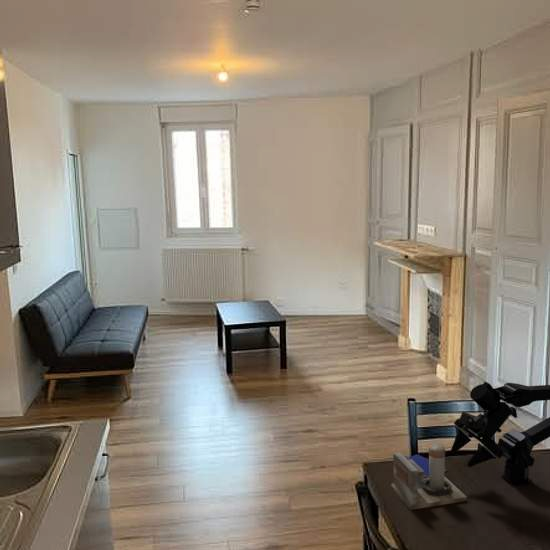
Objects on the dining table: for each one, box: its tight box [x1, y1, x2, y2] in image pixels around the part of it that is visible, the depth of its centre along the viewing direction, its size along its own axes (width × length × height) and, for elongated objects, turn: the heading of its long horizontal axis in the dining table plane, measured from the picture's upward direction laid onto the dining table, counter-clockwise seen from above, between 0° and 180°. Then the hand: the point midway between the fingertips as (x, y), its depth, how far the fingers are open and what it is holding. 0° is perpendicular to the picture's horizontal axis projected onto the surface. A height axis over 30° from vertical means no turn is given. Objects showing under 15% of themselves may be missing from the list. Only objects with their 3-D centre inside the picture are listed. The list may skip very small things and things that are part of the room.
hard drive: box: [405, 453, 447, 478], centre depth 185 cm, size 2×8×12 cm
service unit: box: [391, 452, 468, 511], centre depth 167 cm, size 18×13×11 cm
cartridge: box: [428, 443, 446, 491], centre depth 168 cm, size 5×5×13 cm
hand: (459, 459), depth 169 cm, fingers open, 9 cm apart
